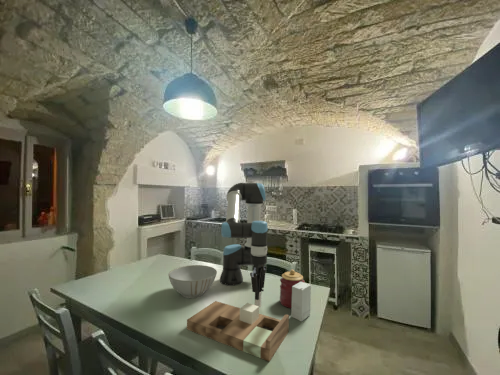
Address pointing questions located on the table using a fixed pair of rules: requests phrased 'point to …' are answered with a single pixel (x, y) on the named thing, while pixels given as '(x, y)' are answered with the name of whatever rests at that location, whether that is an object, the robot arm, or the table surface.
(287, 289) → the canister
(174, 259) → the table surface
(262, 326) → the board
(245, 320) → the block
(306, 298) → the skincare box
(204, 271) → the decorative bowl
